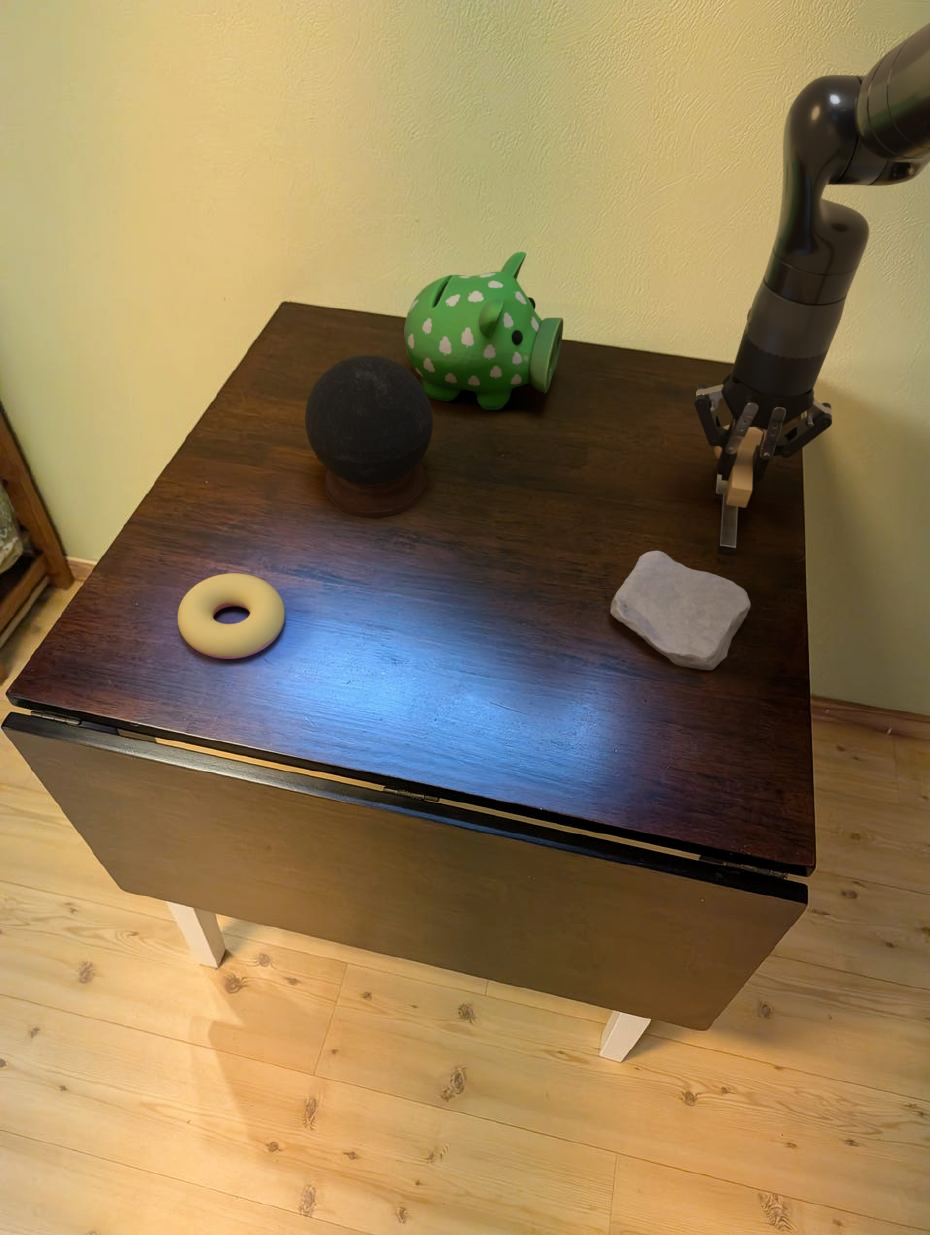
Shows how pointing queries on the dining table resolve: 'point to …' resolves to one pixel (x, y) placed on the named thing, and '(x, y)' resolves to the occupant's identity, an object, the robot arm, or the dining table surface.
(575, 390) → the dining table surface
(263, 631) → the donut
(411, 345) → the piggy bank
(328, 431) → the black ball on stand
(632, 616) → the stone block
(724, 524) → the fork
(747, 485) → the wooden round paddle
